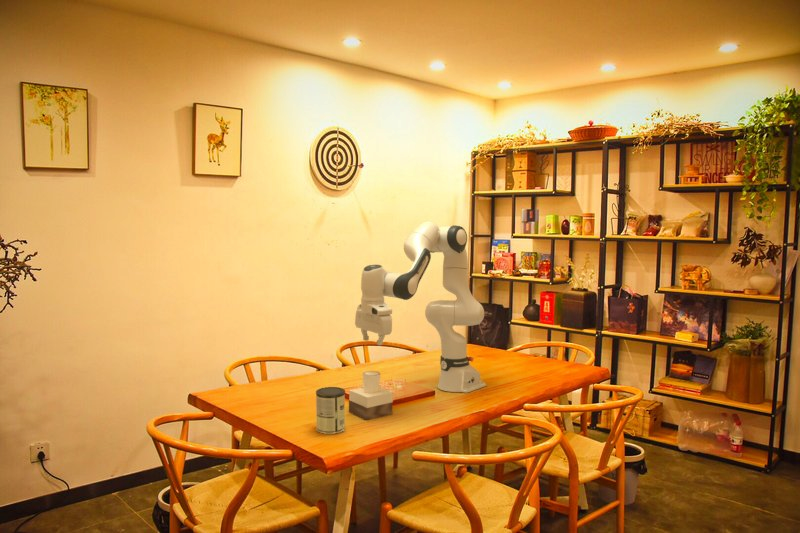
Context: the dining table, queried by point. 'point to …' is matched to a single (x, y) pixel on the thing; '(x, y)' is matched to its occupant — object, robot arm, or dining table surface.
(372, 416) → the walnut base block
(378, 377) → the white cylinder
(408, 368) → the dining table surface
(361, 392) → the cream top block
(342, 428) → the coffee can
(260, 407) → the dining table surface
